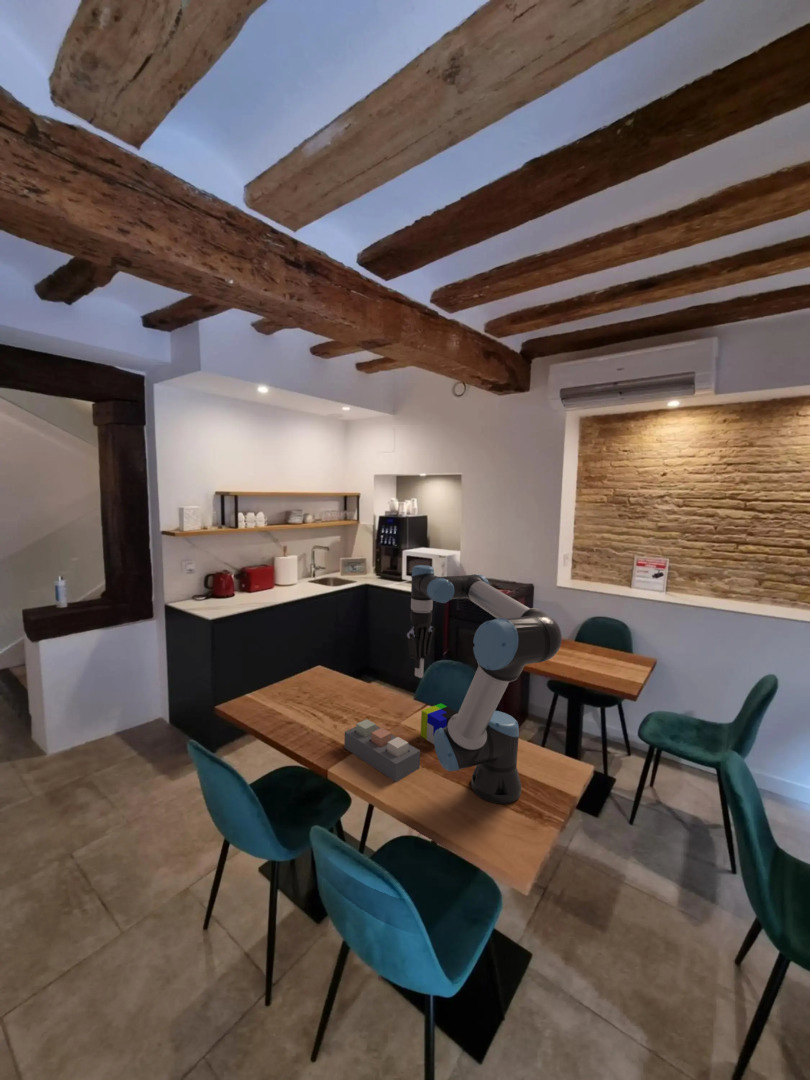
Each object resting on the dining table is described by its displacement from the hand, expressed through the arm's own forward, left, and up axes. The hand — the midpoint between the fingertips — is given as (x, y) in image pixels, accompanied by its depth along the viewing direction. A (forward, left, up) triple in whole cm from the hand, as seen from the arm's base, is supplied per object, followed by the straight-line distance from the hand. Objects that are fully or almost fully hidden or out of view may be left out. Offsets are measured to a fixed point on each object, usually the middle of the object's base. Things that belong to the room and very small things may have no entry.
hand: (418, 676), depth 159 cm
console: (+4, +13, -26) cm, 30 cm away
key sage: (+12, +13, -25) cm, 31 cm away
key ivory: (-4, +14, -25) cm, 29 cm away
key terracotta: (+4, +14, -25) cm, 29 cm away
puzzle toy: (-1, -12, -27) cm, 29 cm away
